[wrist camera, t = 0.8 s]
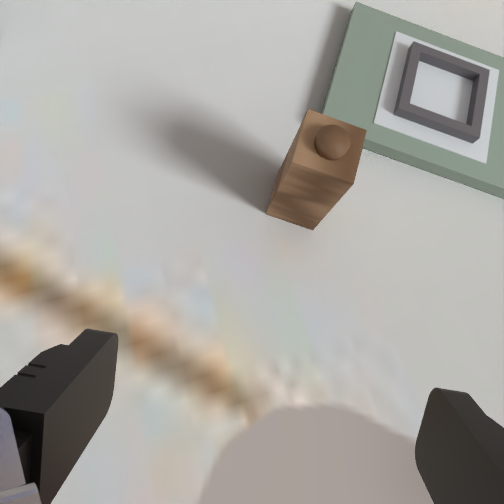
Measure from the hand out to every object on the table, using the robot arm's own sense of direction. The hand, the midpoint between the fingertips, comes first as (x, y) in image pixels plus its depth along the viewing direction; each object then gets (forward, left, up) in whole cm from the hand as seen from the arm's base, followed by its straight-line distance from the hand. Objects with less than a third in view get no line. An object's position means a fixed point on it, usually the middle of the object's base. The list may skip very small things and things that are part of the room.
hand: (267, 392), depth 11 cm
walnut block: (-13, +12, -25) cm, 31 cm away
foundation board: (-20, +30, -25) cm, 44 cm away
